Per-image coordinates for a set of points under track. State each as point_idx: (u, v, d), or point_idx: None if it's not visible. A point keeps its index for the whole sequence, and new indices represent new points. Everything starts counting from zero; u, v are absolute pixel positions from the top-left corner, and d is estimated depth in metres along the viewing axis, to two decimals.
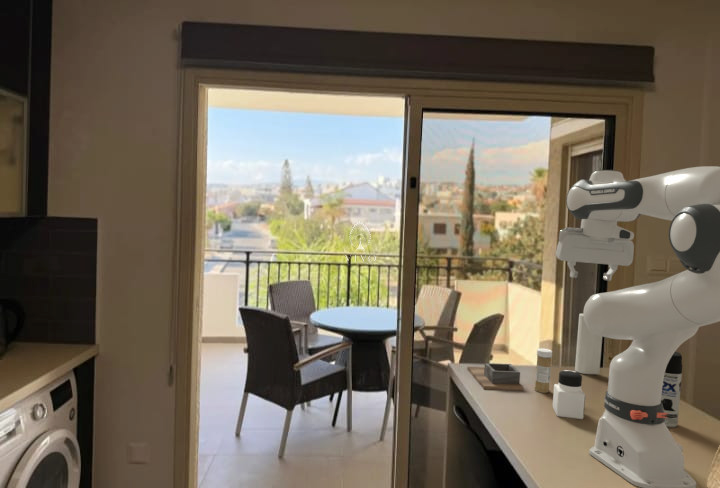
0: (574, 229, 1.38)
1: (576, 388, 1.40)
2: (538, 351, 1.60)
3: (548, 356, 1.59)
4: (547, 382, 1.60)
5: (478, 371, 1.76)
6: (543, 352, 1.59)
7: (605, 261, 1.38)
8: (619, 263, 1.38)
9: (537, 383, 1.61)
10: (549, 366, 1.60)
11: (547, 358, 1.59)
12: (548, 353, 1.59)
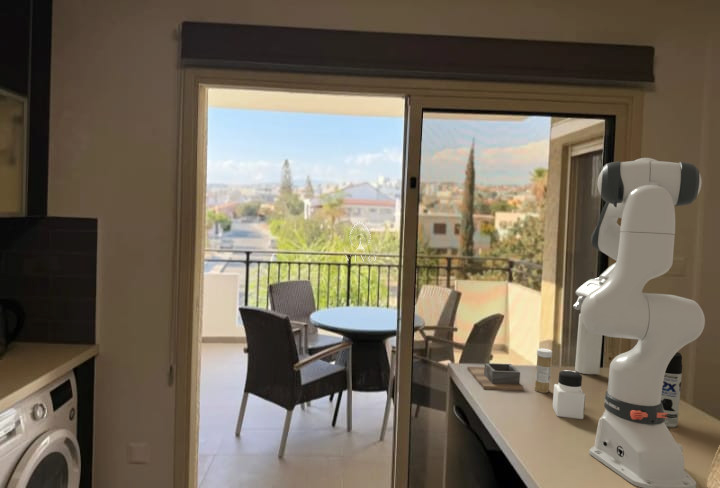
0: (600, 279, 1.69)
1: (576, 388, 1.40)
2: (538, 351, 1.60)
3: (548, 356, 1.59)
4: (547, 382, 1.60)
5: (478, 371, 1.76)
6: (543, 352, 1.59)
7: None
8: None
9: (537, 383, 1.61)
10: (549, 366, 1.60)
11: (547, 358, 1.59)
12: (548, 353, 1.59)
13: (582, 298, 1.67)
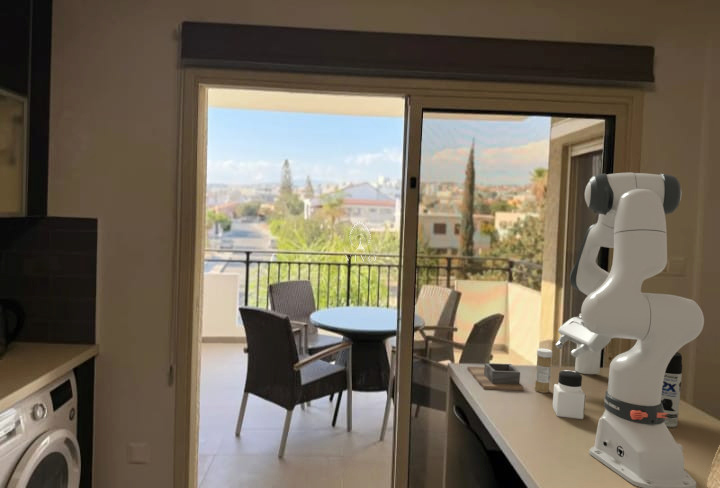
0: None
1: (576, 388, 1.40)
2: (538, 351, 1.60)
3: (548, 356, 1.59)
4: (547, 382, 1.60)
5: (478, 371, 1.76)
6: (543, 352, 1.59)
7: (578, 337, 1.59)
8: (584, 341, 1.55)
9: (537, 383, 1.61)
10: (549, 366, 1.60)
11: (547, 358, 1.59)
12: (548, 353, 1.59)
13: (564, 337, 1.67)
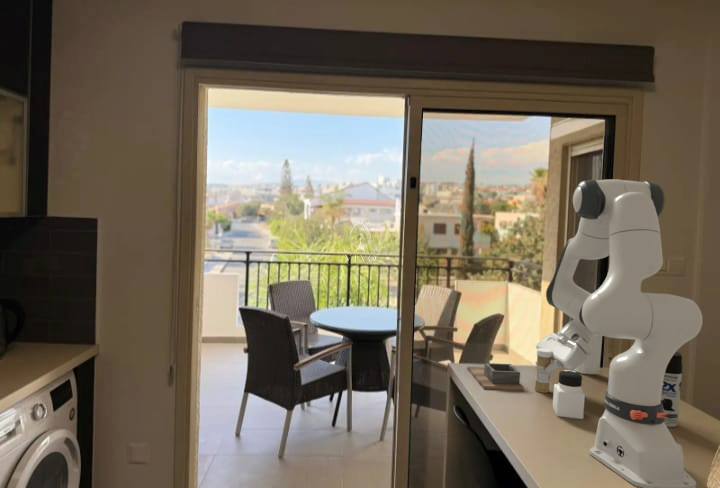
0: None
1: (576, 388, 1.40)
2: (538, 351, 1.60)
3: (548, 356, 1.59)
4: (547, 382, 1.60)
5: (478, 371, 1.76)
6: (543, 352, 1.59)
7: (554, 354, 1.59)
8: (560, 359, 1.55)
9: (537, 383, 1.61)
10: None
11: (547, 358, 1.59)
12: (548, 353, 1.59)
13: None
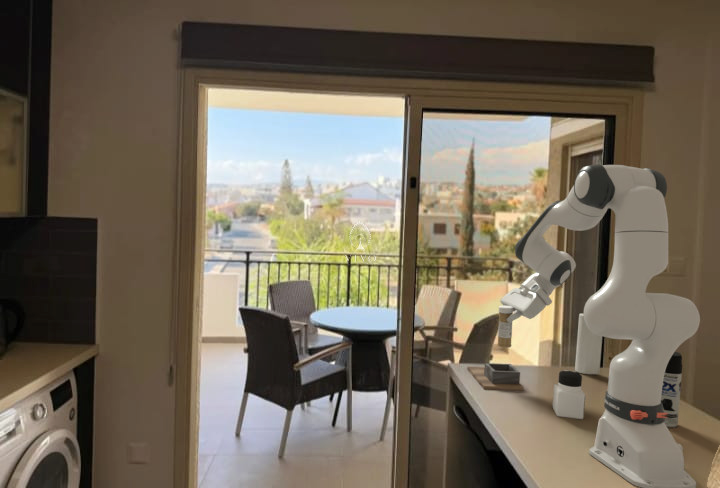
0: None
1: (576, 388, 1.40)
2: (499, 308, 1.66)
3: (509, 312, 1.64)
4: (509, 337, 1.65)
5: (478, 371, 1.76)
6: (504, 308, 1.65)
7: (515, 305, 1.64)
8: (520, 308, 1.60)
9: (499, 339, 1.66)
10: None
11: (508, 314, 1.65)
12: (509, 309, 1.64)
13: None
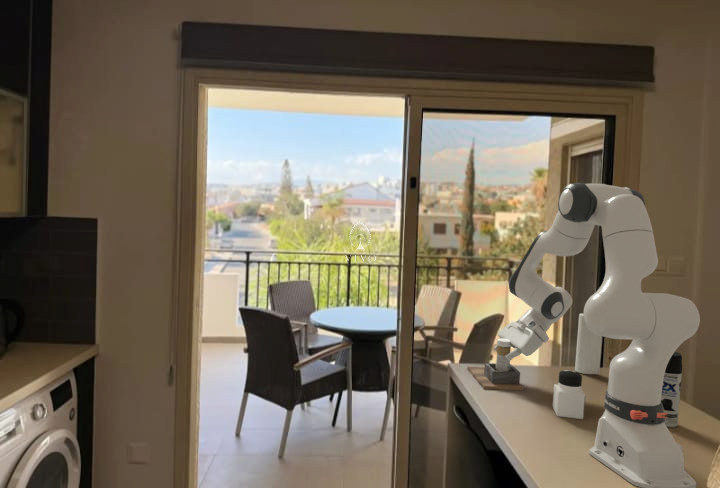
0: None
1: (576, 388, 1.40)
2: (498, 341, 1.67)
3: (507, 346, 1.65)
4: None
5: (478, 371, 1.76)
6: (502, 342, 1.66)
7: (512, 341, 1.65)
8: (517, 345, 1.61)
9: None
10: None
11: (506, 347, 1.65)
12: (507, 343, 1.65)
13: None
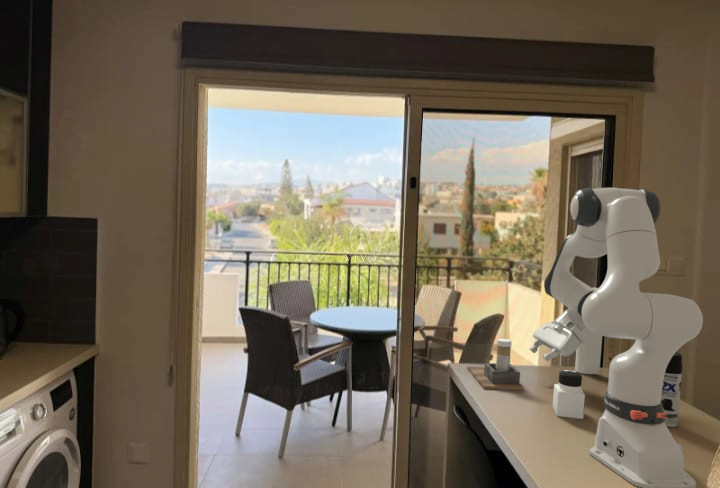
0: None
1: (576, 388, 1.40)
2: (498, 341, 1.67)
3: (507, 346, 1.65)
4: None
5: (478, 371, 1.76)
6: (502, 342, 1.66)
7: (550, 342, 1.67)
8: (555, 346, 1.63)
9: None
10: (508, 355, 1.66)
11: (506, 347, 1.65)
12: (507, 343, 1.65)
13: (538, 341, 1.74)
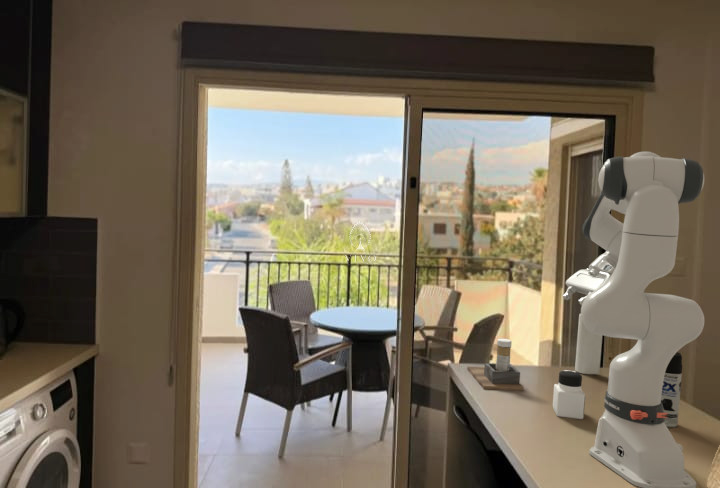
0: (590, 269, 1.68)
1: (576, 388, 1.40)
2: (498, 341, 1.67)
3: (507, 346, 1.65)
4: None
5: (478, 371, 1.76)
6: (502, 342, 1.66)
7: (585, 286, 1.59)
8: (592, 289, 1.55)
9: None
10: (508, 355, 1.66)
11: (506, 347, 1.65)
12: (507, 343, 1.65)
13: (572, 288, 1.67)
